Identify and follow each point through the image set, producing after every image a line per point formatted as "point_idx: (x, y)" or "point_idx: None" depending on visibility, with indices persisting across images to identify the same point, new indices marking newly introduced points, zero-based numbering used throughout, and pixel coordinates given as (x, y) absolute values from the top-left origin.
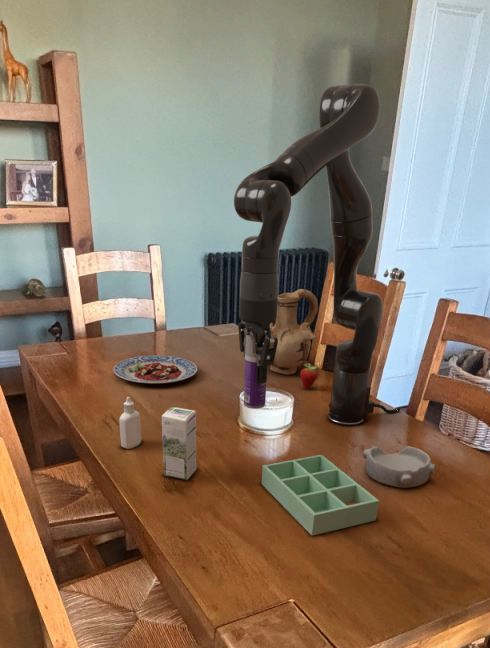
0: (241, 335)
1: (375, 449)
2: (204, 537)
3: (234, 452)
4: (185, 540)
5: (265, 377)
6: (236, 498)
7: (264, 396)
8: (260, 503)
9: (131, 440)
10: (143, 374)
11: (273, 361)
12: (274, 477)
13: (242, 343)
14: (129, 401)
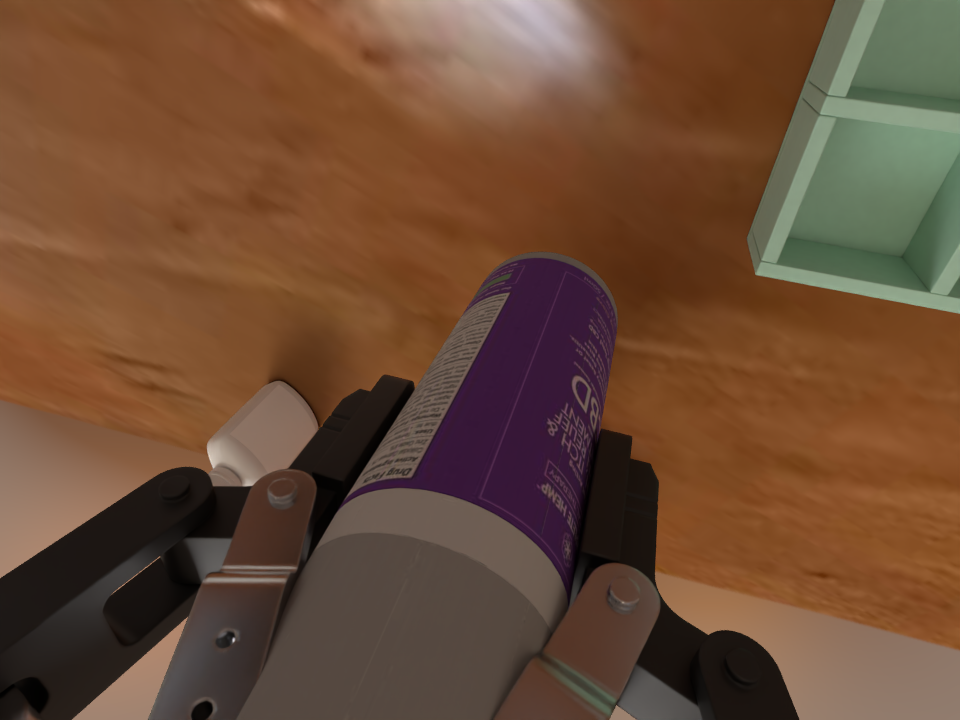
0: (80, 711)
1: None
2: (872, 545)
3: (452, 170)
4: (841, 576)
5: (654, 502)
6: (763, 369)
7: (603, 331)
8: (860, 329)
9: (303, 434)
10: None
11: (792, 710)
12: (885, 298)
13: (166, 626)
14: None
